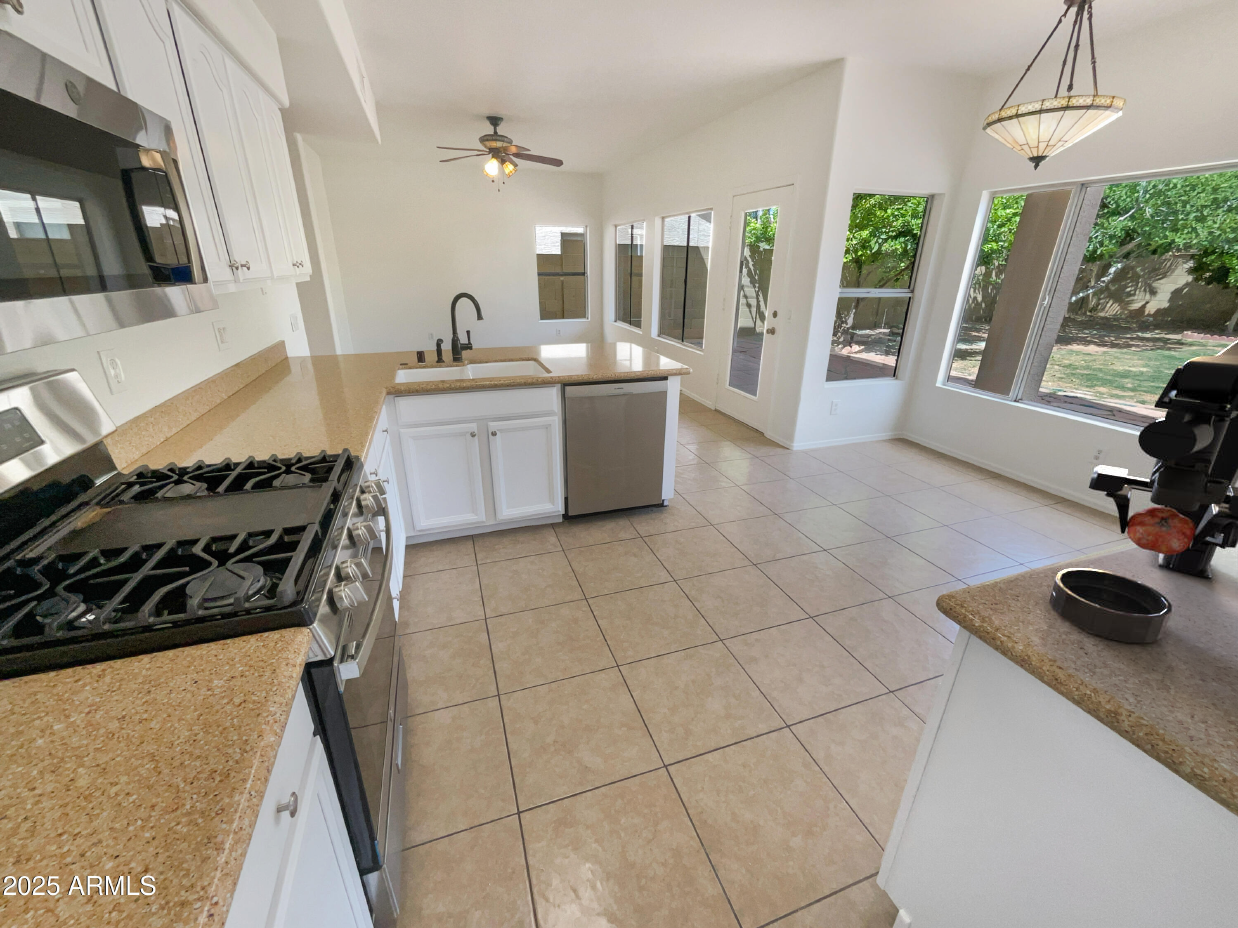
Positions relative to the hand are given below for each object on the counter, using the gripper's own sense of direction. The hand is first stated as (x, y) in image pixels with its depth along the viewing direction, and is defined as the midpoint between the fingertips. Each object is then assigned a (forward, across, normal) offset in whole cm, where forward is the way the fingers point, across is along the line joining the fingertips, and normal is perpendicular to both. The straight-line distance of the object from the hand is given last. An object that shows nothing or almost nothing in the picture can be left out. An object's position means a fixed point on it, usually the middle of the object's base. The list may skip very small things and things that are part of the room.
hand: (1155, 540), depth 81 cm
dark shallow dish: (+11, -3, -9) cm, 15 cm away
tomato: (+2, 0, 0) cm, 2 cm away
